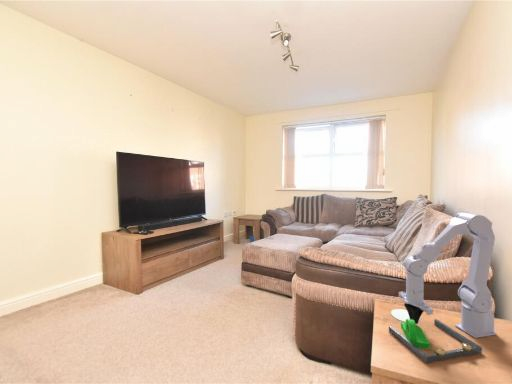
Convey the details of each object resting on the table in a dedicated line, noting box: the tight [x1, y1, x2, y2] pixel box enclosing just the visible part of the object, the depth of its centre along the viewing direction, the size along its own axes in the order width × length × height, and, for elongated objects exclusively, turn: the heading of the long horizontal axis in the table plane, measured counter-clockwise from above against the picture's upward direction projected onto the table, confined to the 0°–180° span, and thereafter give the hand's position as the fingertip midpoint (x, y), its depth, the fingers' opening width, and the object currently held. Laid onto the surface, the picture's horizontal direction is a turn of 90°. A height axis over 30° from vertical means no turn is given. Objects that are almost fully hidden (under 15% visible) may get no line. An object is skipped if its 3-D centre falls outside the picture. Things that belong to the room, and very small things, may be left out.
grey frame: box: [388, 318, 483, 364], centre depth 90 cm, size 21×18×3 cm
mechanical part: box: [400, 318, 431, 350], centre depth 93 cm, size 12×6×8 cm, turn 163°
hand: (414, 323), depth 99 cm, fingers closed
